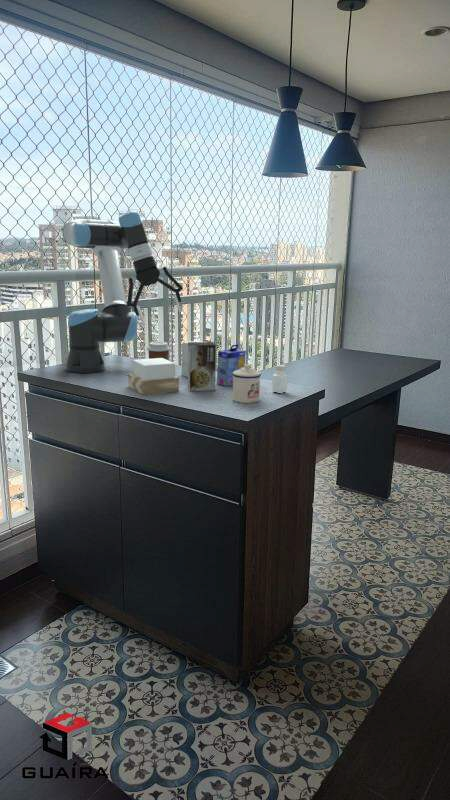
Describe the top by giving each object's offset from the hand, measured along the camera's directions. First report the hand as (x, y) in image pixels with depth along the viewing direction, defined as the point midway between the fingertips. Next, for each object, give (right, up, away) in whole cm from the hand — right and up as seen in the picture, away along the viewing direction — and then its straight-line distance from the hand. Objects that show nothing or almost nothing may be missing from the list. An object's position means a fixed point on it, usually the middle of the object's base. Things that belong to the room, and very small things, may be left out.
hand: (162, 318), depth 196 cm
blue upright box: (+24, -23, +8) cm, 34 cm away
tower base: (-3, -25, -3) cm, 26 cm away
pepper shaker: (+41, -27, -4) cm, 49 cm away
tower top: (-2, -21, -5) cm, 21 cm away
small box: (+10, -20, +19) cm, 29 cm away
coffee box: (+14, -25, -2) cm, 29 cm away
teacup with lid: (+30, -29, -14) cm, 44 cm away
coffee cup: (-4, -19, +21) cm, 28 cm away
